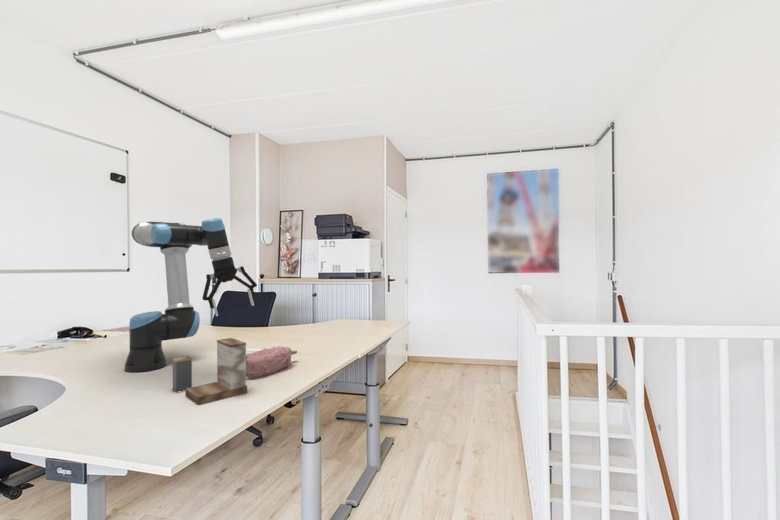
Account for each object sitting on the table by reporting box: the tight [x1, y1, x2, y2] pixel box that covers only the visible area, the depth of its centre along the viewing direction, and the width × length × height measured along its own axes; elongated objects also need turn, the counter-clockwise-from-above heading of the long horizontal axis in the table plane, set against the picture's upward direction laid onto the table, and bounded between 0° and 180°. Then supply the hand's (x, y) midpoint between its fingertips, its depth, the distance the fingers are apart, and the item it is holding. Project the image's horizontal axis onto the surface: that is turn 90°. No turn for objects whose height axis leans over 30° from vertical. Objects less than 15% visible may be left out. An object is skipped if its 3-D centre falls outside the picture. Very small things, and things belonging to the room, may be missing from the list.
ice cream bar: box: [246, 346, 298, 379], centre depth 161 cm, size 13×9×30 cm
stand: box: [184, 337, 248, 406], centre depth 131 cm, size 16×12×17 cm
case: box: [172, 355, 193, 393], centre depth 137 cm, size 5×4×11 cm
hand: (235, 310), depth 152 cm, fingers open, 13 cm apart
